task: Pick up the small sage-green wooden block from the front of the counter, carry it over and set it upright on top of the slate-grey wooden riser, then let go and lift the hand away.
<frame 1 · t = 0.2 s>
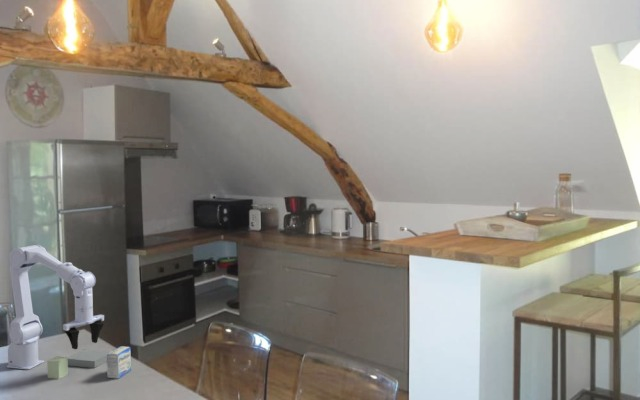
hand: (84, 345, 183), 10 cm above the table, tool pointing down, fingers open, 7 cm apart
green block: (58, 375, 181), on the table
riser: (89, 361, 194), on the table
medicine box: (119, 374, 183), on the table
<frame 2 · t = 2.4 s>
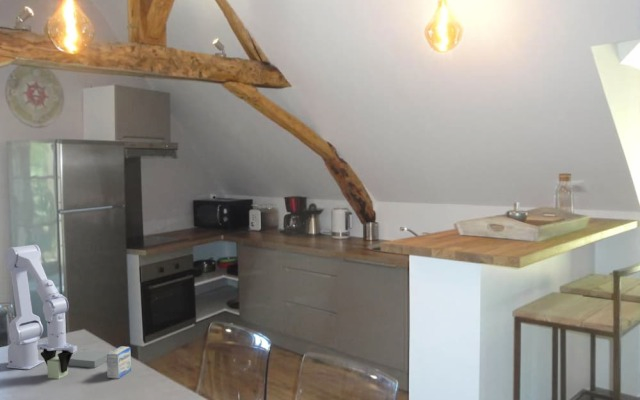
hand: (57, 370, 181), 2 cm above the table, tool pointing down, fingers closed on green block, 4 cm apart
green block: (58, 375, 181), on the table, touching gripper
everything else where it was.
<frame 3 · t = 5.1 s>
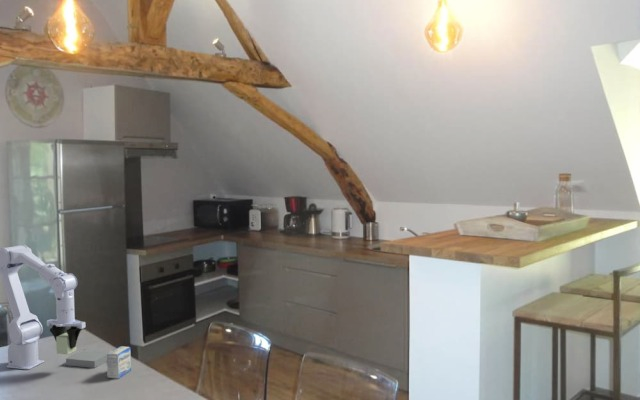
hand: (66, 346, 184), 9 cm above the table, tool pointing down, fingers closed on green block, 4 cm apart
green block: (66, 351, 184), point 7 cm above the table, touching gripper
everything else where it was.
when the fingers open (5 cm above the table, at t = 7.7 s): green block stays where it is, resting on riser.
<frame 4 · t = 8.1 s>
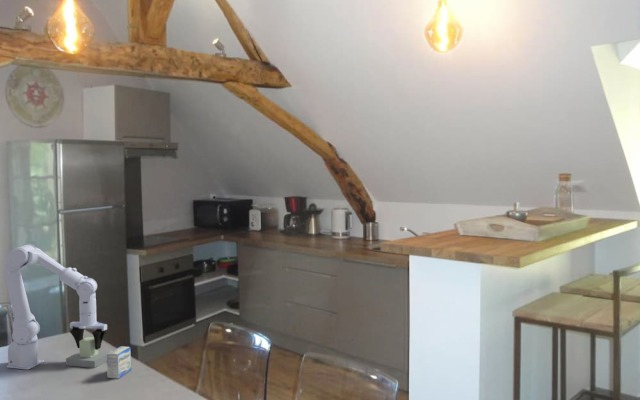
hand: (89, 348, 194), 5 cm above the table, tool pointing down, fingers open, 7 cm apart
green block: (89, 355, 194), point 2 cm above the table, touching riser
everything else where it was.
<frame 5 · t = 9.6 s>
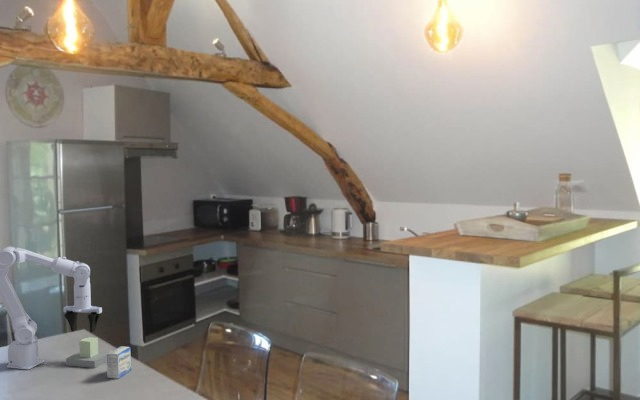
hand: (83, 331, 198), 10 cm above the table, tool pointing down, fingers open, 7 cm apart
nothing on the table moved.
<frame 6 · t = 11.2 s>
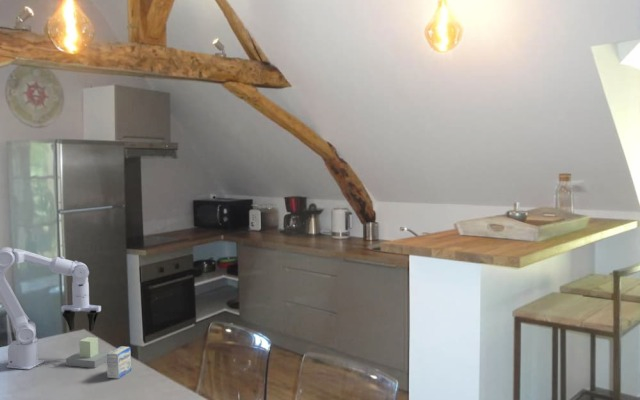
hand: (81, 329, 199), 10 cm above the table, tool pointing down, fingers open, 7 cm apart
nothing on the table moved.
at the end: green block inside the target area on the riser (0.1 cm from its centre), point 2.5 cm above the riser's base; green block tilted 0°; the gripper is holding nothing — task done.
